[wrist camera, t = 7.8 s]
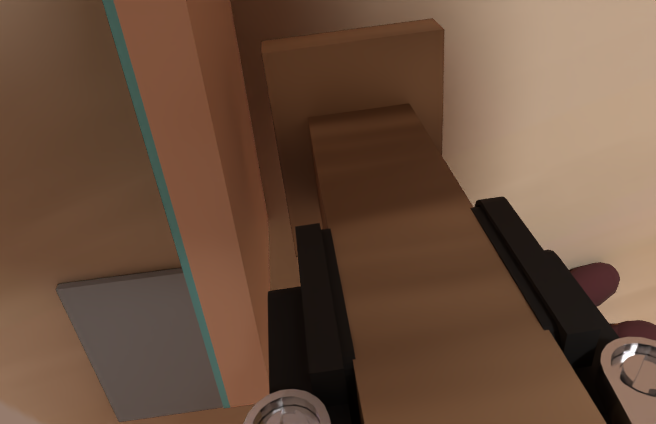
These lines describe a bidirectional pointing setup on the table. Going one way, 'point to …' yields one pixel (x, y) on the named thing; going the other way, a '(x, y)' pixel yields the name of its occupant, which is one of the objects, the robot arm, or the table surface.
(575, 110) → the table surface
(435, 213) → the wooden post with base
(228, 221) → the tile
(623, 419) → the robot arm
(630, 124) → the table surface
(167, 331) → the mat
